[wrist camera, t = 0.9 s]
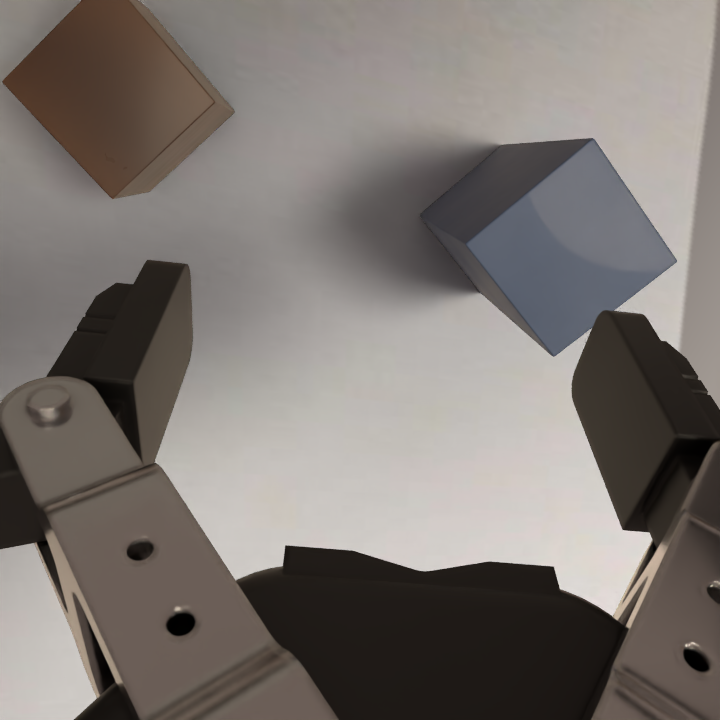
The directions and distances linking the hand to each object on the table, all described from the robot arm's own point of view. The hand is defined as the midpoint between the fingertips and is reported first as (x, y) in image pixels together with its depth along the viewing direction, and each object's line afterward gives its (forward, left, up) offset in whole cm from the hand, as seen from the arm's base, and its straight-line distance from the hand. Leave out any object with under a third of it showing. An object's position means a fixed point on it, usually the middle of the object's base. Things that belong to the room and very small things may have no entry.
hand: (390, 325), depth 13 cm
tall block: (-5, +4, -17) cm, 18 cm away
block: (+3, -9, -17) cm, 19 cm away
